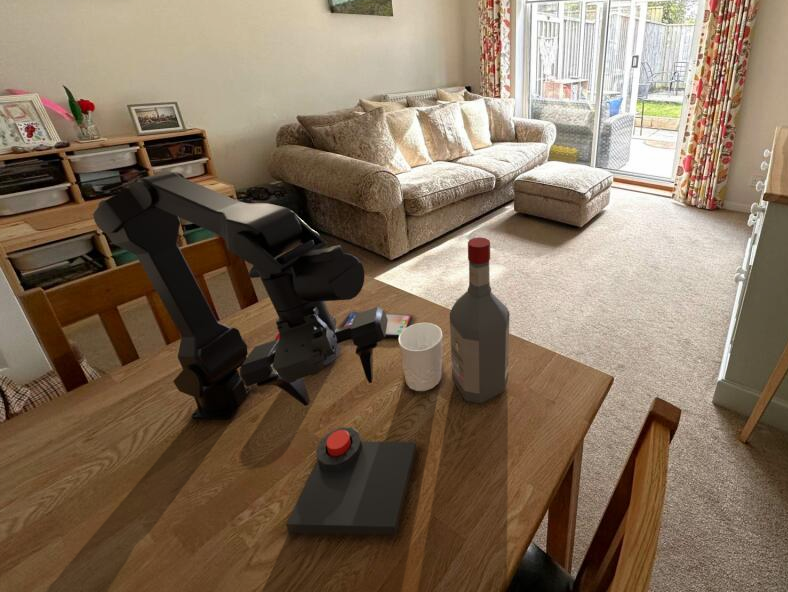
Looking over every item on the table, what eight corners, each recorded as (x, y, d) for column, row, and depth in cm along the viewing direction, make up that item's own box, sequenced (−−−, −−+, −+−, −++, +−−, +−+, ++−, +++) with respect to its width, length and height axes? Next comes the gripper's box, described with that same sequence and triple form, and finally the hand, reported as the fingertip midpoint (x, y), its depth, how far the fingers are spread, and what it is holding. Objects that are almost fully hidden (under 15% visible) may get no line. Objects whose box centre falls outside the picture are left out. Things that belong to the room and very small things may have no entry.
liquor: (469, 410, 71) (466, 261, 60) (448, 377, 78) (441, 237, 67) (513, 389, 76) (517, 246, 64) (489, 359, 83) (489, 226, 72)
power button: (324, 456, 59) (322, 449, 59) (333, 436, 62) (331, 429, 62) (345, 456, 59) (344, 449, 59) (353, 437, 62) (352, 430, 62)
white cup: (435, 397, 73) (432, 354, 70) (395, 390, 75) (390, 347, 71) (450, 366, 81) (448, 325, 77) (413, 360, 82) (409, 319, 78)
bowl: (295, 369, 79) (290, 349, 77) (312, 344, 85) (308, 325, 84) (331, 370, 79) (327, 349, 77) (345, 345, 85) (341, 326, 84)
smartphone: (403, 336, 87) (335, 333, 88) (403, 338, 88) (336, 335, 88) (413, 314, 94) (350, 311, 95) (413, 316, 95) (350, 313, 95)
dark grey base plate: (288, 533, 53) (283, 516, 51) (330, 442, 65) (327, 426, 63) (395, 535, 53) (393, 518, 51) (418, 444, 65) (416, 428, 63)
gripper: (193, 358, 46) (251, 462, 50) (358, 304, 48) (399, 407, 53) (236, 311, 56) (281, 400, 60) (369, 270, 59) (403, 358, 63)
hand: (339, 392), depth 59 cm, fingers open, 9 cm apart
